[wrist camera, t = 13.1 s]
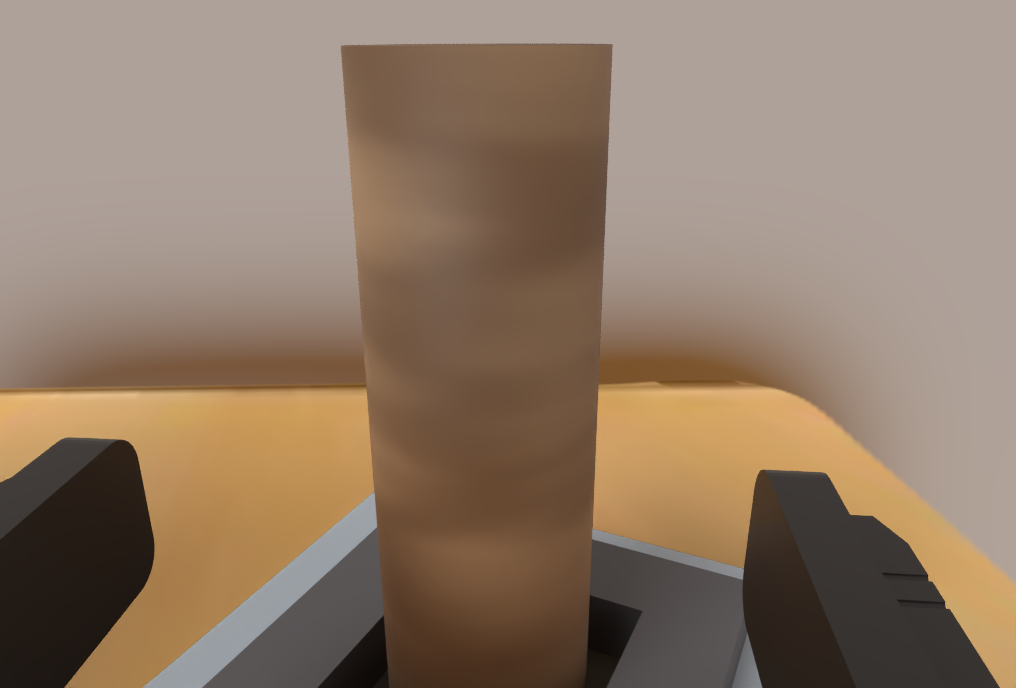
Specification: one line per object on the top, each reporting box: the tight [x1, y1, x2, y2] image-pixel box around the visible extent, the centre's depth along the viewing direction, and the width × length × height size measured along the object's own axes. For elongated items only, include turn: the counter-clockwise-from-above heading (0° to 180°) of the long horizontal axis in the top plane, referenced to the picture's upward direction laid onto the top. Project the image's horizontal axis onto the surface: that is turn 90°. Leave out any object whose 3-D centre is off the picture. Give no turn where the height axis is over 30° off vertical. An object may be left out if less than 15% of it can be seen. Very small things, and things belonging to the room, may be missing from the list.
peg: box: [341, 44, 612, 688], centre depth 14 cm, size 4×4×15 cm
